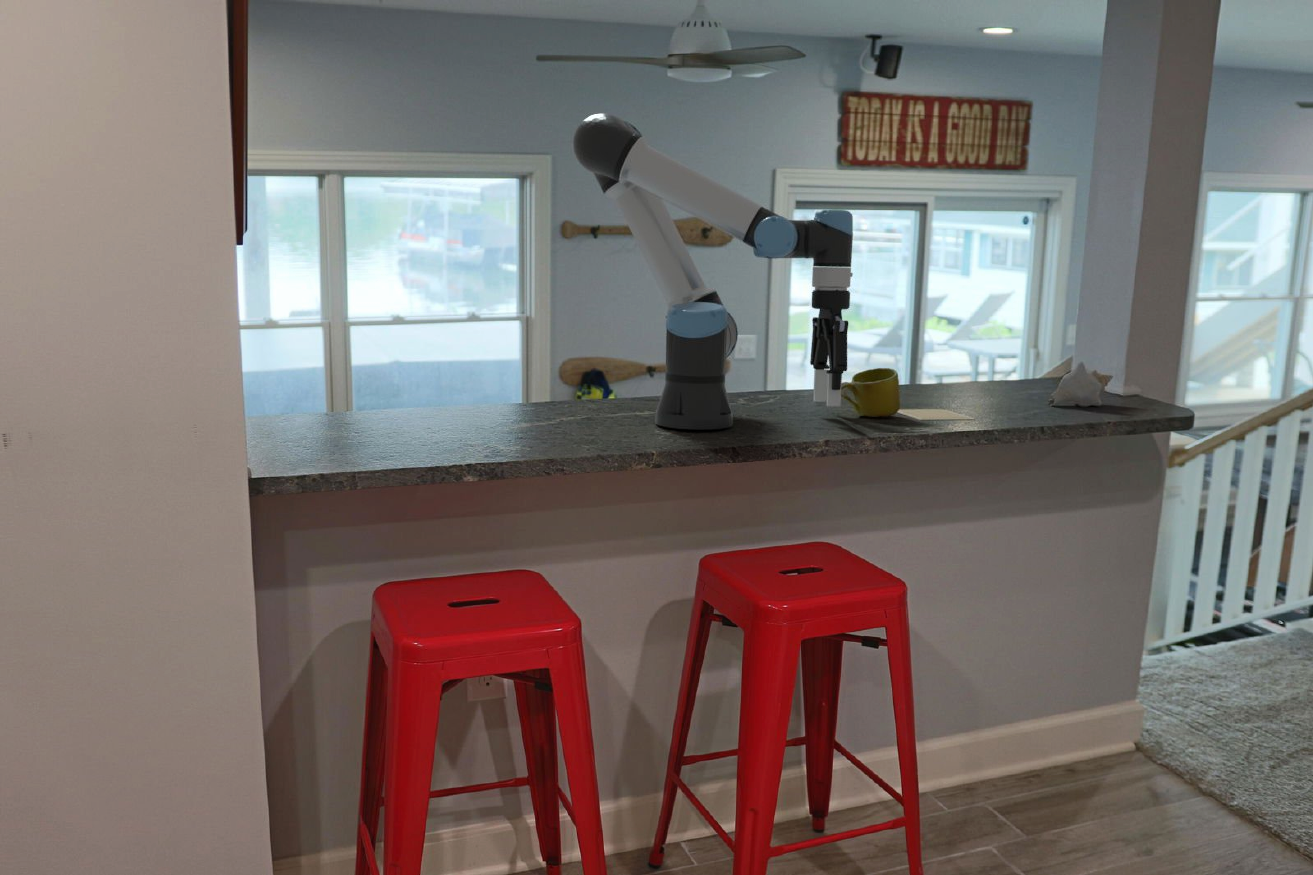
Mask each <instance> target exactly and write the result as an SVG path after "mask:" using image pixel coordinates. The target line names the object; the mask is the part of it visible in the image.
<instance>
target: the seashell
mask: <svg viewBox="0 0 1313 875" xmlns="http://www.w3.org/2000/svg"><path fill="white" fill-rule="evenodd" d="M1113 378H1114V375H1111V374H1102V373H1100V372H1098V371H1097V370H1096V369H1094V370H1091V371H1090V369H1088V368H1086V367H1085V364H1084V362H1083V361H1081V360H1080V361H1079V362H1077V364H1076V365H1075V366H1074V368H1073V369H1072V370H1071V371H1070V372H1069V373H1067V374H1065V375H1064V376H1063V377H1062V378H1061V380H1060V382H1059V384H1058V387H1057V389H1056V390H1055V391H1054V392H1053V393H1051V395H1050V396H1051V398H1050V399H1048V400H1047V405H1048V406H1049V407H1051V406H1055V405H1057V404H1060V403H1065V402H1072V403H1074V404H1075V405H1077V406H1078V407H1084V408H1085V407H1086V408H1087V407H1091V406H1095V407H1101V406H1102V401H1101V399H1100V394H1102V393H1105V392H1106V387H1108V384H1109V383H1110V382H1111V380H1112V379H1113Z"/></svg>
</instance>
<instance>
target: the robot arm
mask: <svg viewBox="0 0 1313 875" xmlns="http://www.w3.org/2000/svg"><path fill="white" fill-rule="evenodd" d="M572 144H573V151H574V152H573V153H574V155H575V157H576V159H577V161H578V162H579V164H580V165H581V166H582V167H583V168H584V169H586V170H587V171H589V172H591V173H592V174H593V175H594V177H595V179H596V180H597V183H598V185H599V188H600V189H601V191H602V193H603V195H604V196H605V197H607V198H610V199H612V200H614V201H615V202H616V204H617V206H618V208H619V210H620V212H621V214H622V216H623V219H624V220H625V222H626V223H627V226H628V228H629V230H630V232H631V234H632V236H633V238H634V240H635V242H636V245H637V246H638V248H639V250H640V252H641V253H642V256H643V258H644V260H645V262H646V264H647V266H648V268H649V270H650V272H651V273H652V276H653V278H654V280H655V281H656V283H657V286H658V288H659V290H660V292H661V293H662V295H663V298H664V300H665V302H666V303H667V308H666V311H665V315H664V316H665V318H666V319H665V327H666V336H665V337H666V338H665V339H666V342H665V379H664V380H665V381H664V382H665V383H664V387H663V390H662V393H661V396H660V399H659V401H658V404H657V407H656V410H655V416H654V417H655V421H654V422H655V425H657V426H661V427H665V428H669V429H670V428H671V429H680V430H697V431H698V430H705V431H706V430H719V429H720V430H721V429H727V428H731V427H732V426H733V424H734V420H733V419H734V414H733V410H732V406H731V403H730V400H729V397H728V396H729V395H728V392H727V389H726V368H727V367H726V363H727V362H726V361H727V359H728V357H730V355H731V354H732V353H733V351H734V350H735V348H736V345H737V342H738V339H739V338H738V335H739V332H738V325H737V322H736V320H735V319H734V317H733V316H732V315H731V313H729V312H728V310H727V309H726V306H725V305H724V304H723V302H722V300H721V298H720V296H719V294H718V291H717V290H716V289H715V288H712V287H708V286H706V284H705V282H704V280H703V278H702V277H701V274H700V272H699V270H698V268H697V266H696V263H695V262H694V260H693V258H692V256H691V255H690V252H689V250H688V248H687V246H686V244H685V243H684V241H683V238H682V237H681V235H680V232H679V231H678V228H677V226H676V224H675V222H674V221H673V218H672V216H671V214H670V212H669V211H668V208H667V207H666V206H667V205H666V204H665V202H666V203H669V204H671V205H673V206H675V207H677V208H678V209H680V210H682V211H684V212H686V213H688V214H689V215H692V216H693V217H695V218H697V219H699V220H701V221H703V222H704V223H706V224H708V225H710V226H712V227H714V228H715V229H718V230H719V231H722V232H723V233H726V234H727V235H729V236H731V237H733V238H735V239H736V240H739V241H740V242H741V243H743V244H745V245H747V246H748V247H751V248H752V250H753V254H754V256H755V257H756V258H763V259H767V260H768V259H770V260H771V259H775V260H776V259H812V260H813V262H812V263H813V264H812V276H811V278H812V279H811V286H812V287H813V288H814V289H813V290H812V292H811V308H812V309H815V310H819V311H818V316H817V317H816V316H815V317H812V320H811V321H812V336H811V347H810V349H811V350H810V360H809V362H810V365H811V366H813V374H814V375H813V376H814V377H813V395H812V396H813V397H812V398H813V400H812V401H813V402H817V403H818V402H826V407H841V406H842V404H841V403H842V396H841V385H842V383H843V381H842V380H843V374H844V372H847V371H848V330H849V320H843V316H842V315H843V314H842V310H849V308H850V306H851V305H850V304H851V292H850V290H848V288H850V287H851V278H853V275H854V273H853V272H852V257H853V255H852V253H853V240H854V239H853V238H854V237H853V236H854V229H853V228H854V227H853V225H854V220H853V219H854V218H853V214H852V213H851V211H849V210H845V209H819V210H816V211H815V213H814V217H813V219H808V220H807V219H806V220H797V219H796V220H795V219H794V220H793V219H788V218H785V217H784V216H782V215H779V214H777V213H775V212H773V211H771V210H769V209H767V208H765V207H763V206H762V205H760V204H758V203H757V202H755V201H753V200H750V199H749V198H747V197H745V196H744V195H741V194H739V193H738V192H735V191H734V190H732V189H730V188H728V187H726V186H725V185H723V184H721V183H719V182H717V181H715V180H713V179H711V178H709V177H707V176H706V175H704V174H702V173H700V172H698V171H696V170H695V169H692V168H691V167H689V166H687V165H685V164H684V163H681V162H679V161H678V160H676V159H674V158H672V157H670V156H668V155H667V154H664V153H663V152H661V151H658V150H657V149H655V148H653V147H652V146H651V147H650V146H649V145H648V143H647V139H646V138H645V137H644V136H643V135H642V133H641V131H639V130H638V128H637V127H636V126H634V125H633V124H632V123H629V122H627V121H625V120H622V119H621V118H619V117H618V116H616V115H613V114H610V113H603V112H601V113H595V114H591V115H589V116H588V117H586V118H585V119H583V121H581V122H580V124H579V125H578V127H577V128H576V130H575V132H574V136H573V143H572ZM664 201H665V202H664Z"/></svg>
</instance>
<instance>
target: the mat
mask: <svg viewBox="0 0 1313 875" xmlns="http://www.w3.org/2000/svg"><path fill="white" fill-rule="evenodd" d="M897 413H898V414H901V415H904V416H906V417H909V418H913V419H915V420H917V421H918V420H919V421H964V420H965V421H976V418H974V417H972V416H967V415H964V414H960V413H957V412H954V411H950V410H947V409H944V408H943V409H939V408H934V409H933V408H932V409H930V408H929V409H924V408H923V409H921V408H920V409H919V408H917V409H899V410H898V411H897ZM897 413H896V414H897Z"/></svg>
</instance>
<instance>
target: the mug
mask: <svg viewBox="0 0 1313 875" xmlns="http://www.w3.org/2000/svg"><path fill="white" fill-rule="evenodd" d="M899 380H900V379H899V374H898V372H897V370H895V369H894V368H889V367H879V368H878V367H877V368H871V369H866V370H863V371H859V372H858V373H855V374H854V375H853V376H852V377H851V381H850V382H847V381H844V382H843V381H842V385H841V398H843V399H845V400H846V401H847V402H848V404H850V405H851V407H852V409H853V410H854V411H855V412H856V413H857V415H859V416H862V415H864V416H865V417H873V418H879V417H884V418H886V417H891V416H894V415H896V414H897V411H898V410H901V400H900V399H901V397H900V381H899ZM846 391H850V392H851V393H852V395H853V396H854V399H852V398H851V397H850V396H849V395H848V394H847V392H846Z"/></svg>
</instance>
